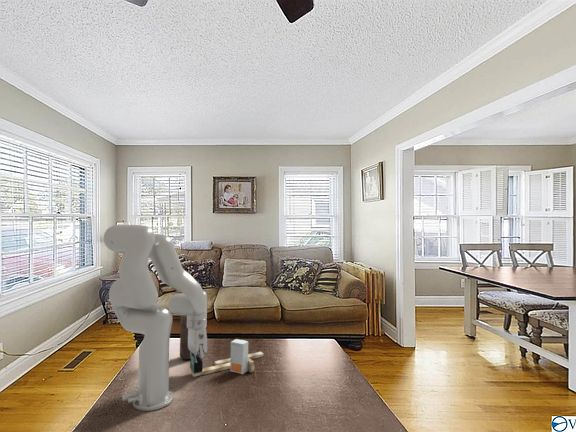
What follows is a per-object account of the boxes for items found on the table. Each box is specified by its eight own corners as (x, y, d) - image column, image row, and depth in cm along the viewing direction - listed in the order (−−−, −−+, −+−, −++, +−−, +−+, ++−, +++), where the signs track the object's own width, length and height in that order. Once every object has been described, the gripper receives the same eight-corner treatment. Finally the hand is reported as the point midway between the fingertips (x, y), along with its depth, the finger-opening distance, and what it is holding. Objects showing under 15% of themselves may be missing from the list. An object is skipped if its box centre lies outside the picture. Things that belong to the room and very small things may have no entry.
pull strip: (200, 384, 135) (201, 364, 135) (191, 373, 144) (191, 355, 144) (254, 371, 147) (254, 353, 147) (241, 362, 156) (242, 345, 156)
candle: (194, 361, 157) (194, 314, 157) (177, 361, 157) (177, 314, 158) (199, 355, 165) (199, 310, 165) (182, 354, 165) (183, 310, 165)
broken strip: (217, 366, 152) (217, 363, 152) (214, 364, 154) (214, 361, 154) (263, 356, 164) (263, 353, 164) (260, 354, 166) (260, 351, 166)
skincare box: (229, 371, 147) (230, 341, 147) (236, 368, 151) (236, 338, 151) (242, 374, 144) (242, 344, 144) (248, 370, 148) (248, 340, 148)
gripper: (213, 326, 139) (213, 375, 139) (199, 316, 153) (198, 361, 152) (194, 329, 135) (193, 380, 134) (180, 319, 149) (180, 365, 148)
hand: (196, 369), depth 143 cm, fingers closed on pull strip, 3 cm apart
